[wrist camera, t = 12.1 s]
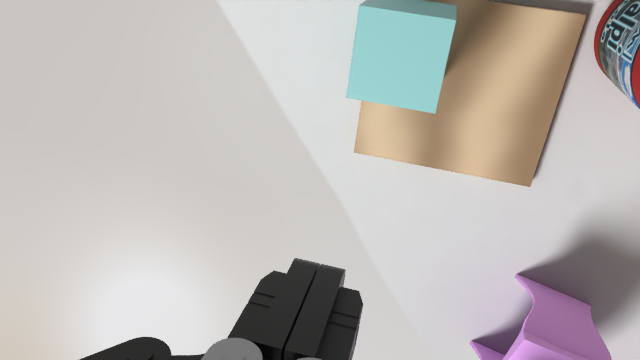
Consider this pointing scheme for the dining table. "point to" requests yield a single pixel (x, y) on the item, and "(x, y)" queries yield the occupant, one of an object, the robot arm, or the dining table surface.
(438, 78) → the aqua foam cube
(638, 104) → the beverage can
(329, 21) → the dining table surface
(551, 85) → the board
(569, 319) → the toy chair
